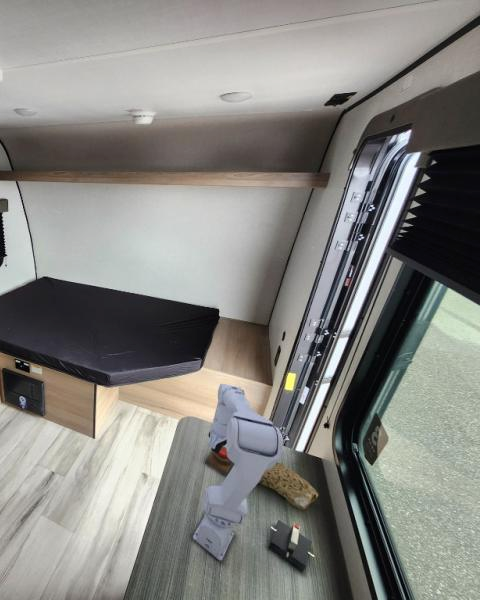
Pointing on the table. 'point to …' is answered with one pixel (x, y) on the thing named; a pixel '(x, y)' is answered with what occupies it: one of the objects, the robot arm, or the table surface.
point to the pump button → (223, 452)
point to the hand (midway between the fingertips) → (215, 450)
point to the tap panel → (281, 543)
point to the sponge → (289, 485)
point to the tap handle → (293, 537)
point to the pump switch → (219, 463)
